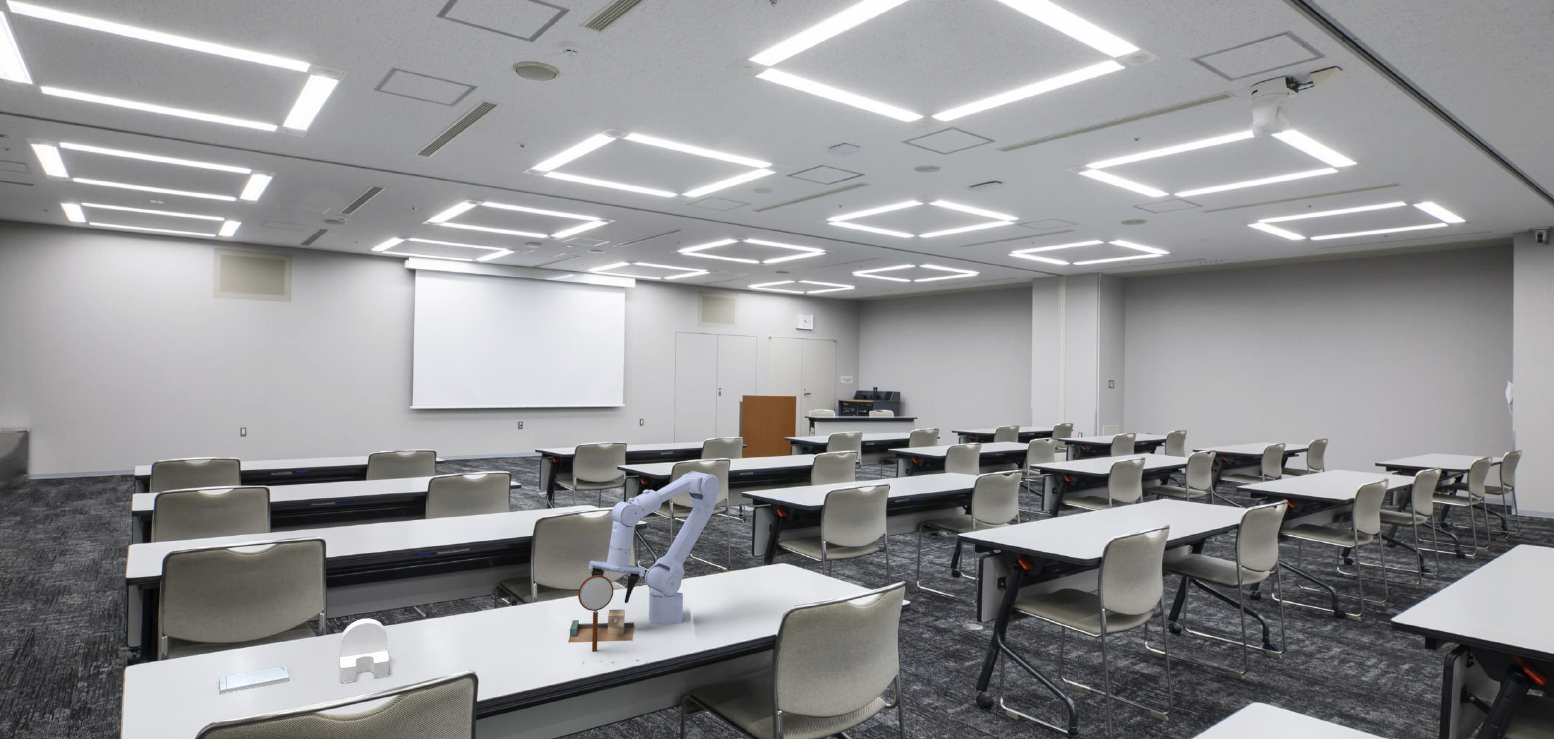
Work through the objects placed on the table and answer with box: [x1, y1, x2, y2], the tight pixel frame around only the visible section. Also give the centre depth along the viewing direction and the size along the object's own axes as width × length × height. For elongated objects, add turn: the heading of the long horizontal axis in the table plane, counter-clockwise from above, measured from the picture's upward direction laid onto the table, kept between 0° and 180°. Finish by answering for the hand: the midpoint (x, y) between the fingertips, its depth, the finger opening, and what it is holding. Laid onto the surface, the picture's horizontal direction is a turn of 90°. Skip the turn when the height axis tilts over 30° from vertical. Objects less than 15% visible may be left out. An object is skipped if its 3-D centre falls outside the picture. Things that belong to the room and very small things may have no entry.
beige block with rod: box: [607, 608, 626, 635], centre depth 202 cm, size 4×10×5 cm, turn 9°
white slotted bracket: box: [338, 618, 390, 683], centre depth 179 cm, size 10×18×11 cm, turn 30°
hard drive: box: [218, 665, 290, 694], centre depth 169 cm, size 2×8×12 cm
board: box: [567, 619, 635, 643], centre depth 200 cm, size 16×11×4 cm
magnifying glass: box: [577, 575, 614, 653], centre depth 188 cm, size 9×2×20 cm, turn 117°
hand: (612, 600), depth 202 cm, fingers open, 7 cm apart
